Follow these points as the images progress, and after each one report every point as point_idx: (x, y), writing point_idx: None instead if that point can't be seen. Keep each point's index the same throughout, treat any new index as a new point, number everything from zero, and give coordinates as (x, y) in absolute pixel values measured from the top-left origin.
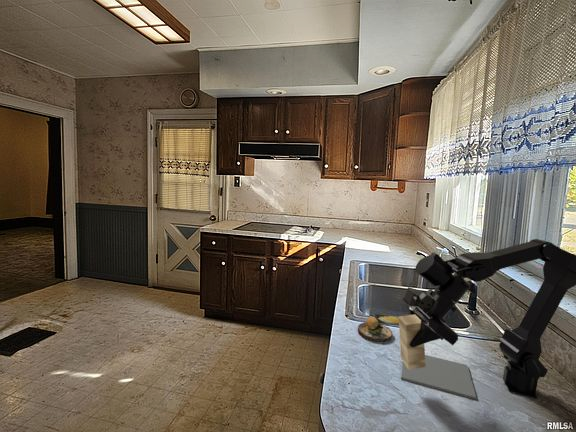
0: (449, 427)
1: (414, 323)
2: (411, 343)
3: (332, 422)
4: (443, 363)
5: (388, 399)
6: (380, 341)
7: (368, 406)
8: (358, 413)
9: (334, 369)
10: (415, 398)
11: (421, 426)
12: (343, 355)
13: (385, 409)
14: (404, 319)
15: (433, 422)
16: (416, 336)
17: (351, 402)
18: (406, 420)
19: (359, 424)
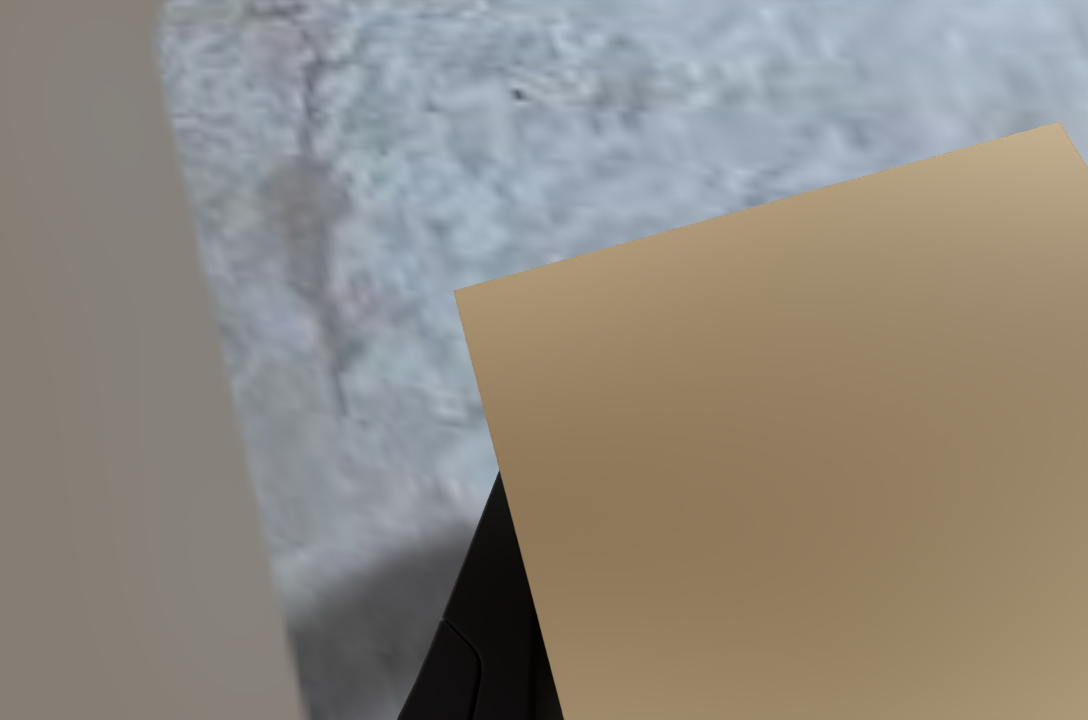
0: (287, 637)
1: (573, 638)
2: (500, 473)
3: (181, 18)
4: None
5: (432, 318)
6: None
7: (344, 201)
8: (276, 147)
9: (627, 6)
10: (485, 483)
11: (258, 477)
12: (802, 56)
13: (343, 294)
14: (867, 293)
15: (305, 552)
16: (489, 584)
17: (352, 110)
18: (284, 401)
19: (198, 150)
